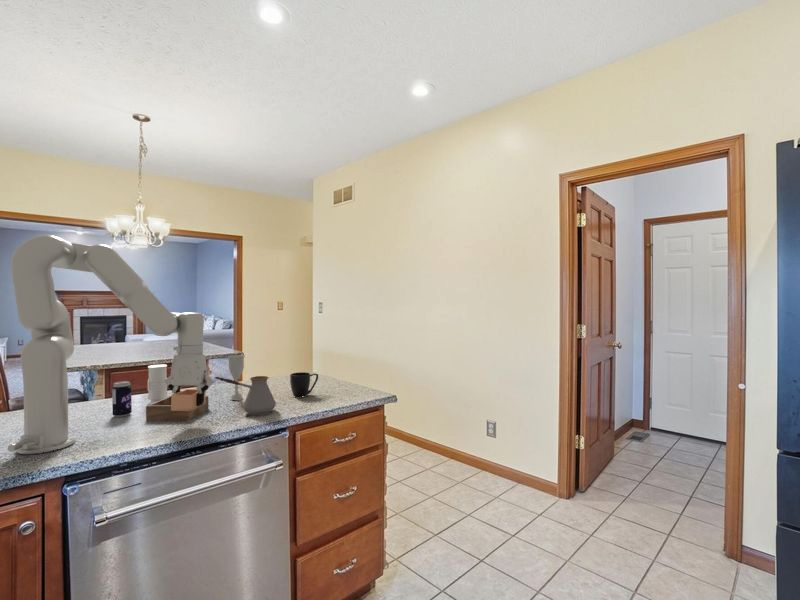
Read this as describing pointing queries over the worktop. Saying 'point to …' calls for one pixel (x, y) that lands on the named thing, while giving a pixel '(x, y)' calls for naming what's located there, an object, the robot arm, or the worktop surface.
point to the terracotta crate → (185, 400)
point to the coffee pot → (256, 396)
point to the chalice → (236, 372)
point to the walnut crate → (163, 411)
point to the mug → (301, 383)
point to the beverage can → (121, 398)
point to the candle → (157, 383)
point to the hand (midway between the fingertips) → (188, 404)
